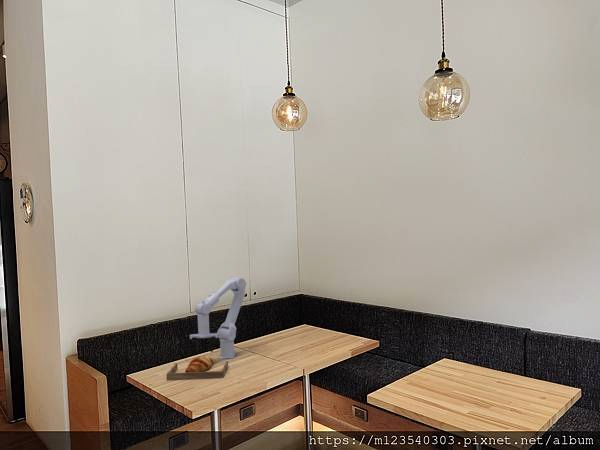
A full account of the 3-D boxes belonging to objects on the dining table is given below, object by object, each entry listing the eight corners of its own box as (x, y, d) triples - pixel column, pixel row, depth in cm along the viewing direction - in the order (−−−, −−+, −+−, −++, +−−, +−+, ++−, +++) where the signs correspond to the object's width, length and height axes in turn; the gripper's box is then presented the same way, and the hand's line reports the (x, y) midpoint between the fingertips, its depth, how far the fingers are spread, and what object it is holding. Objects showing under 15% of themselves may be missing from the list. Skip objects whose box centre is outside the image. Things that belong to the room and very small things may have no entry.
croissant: (209, 369, 236) (203, 355, 238) (223, 362, 232) (216, 347, 234) (182, 382, 217) (176, 366, 219) (196, 374, 213) (190, 358, 215)
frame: (176, 369, 227) (175, 363, 227) (228, 366, 227) (228, 361, 227) (166, 380, 212) (166, 374, 212) (222, 377, 212) (222, 371, 212)
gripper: (187, 328, 231) (189, 354, 231) (215, 327, 231) (216, 353, 231) (191, 325, 238) (192, 350, 238) (218, 324, 238) (219, 349, 238)
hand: (204, 351), depth 235 cm, fingers open, 7 cm apart
